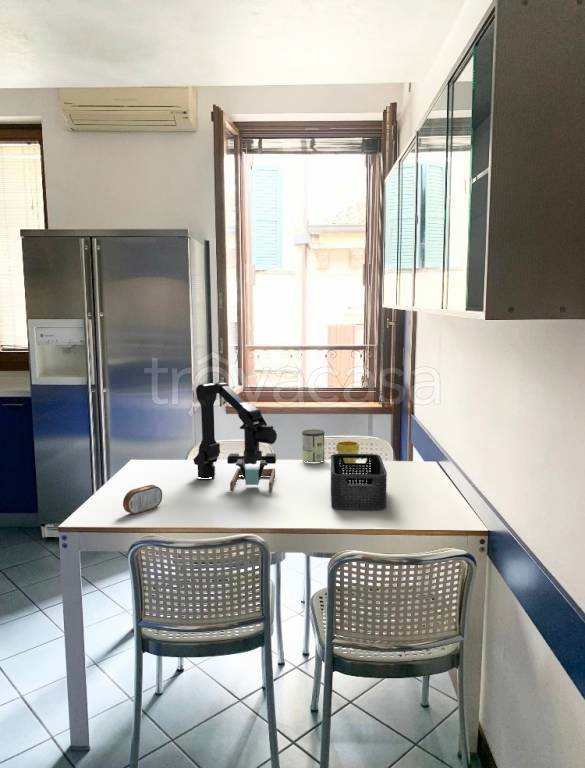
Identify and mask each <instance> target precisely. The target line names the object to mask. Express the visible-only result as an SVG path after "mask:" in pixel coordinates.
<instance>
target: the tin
mask: <svg viewBox="0 0 585 768" xmlns="http://www.w3.org/2000/svg"><path fill="white" fill-rule="evenodd" d="M162 500H163V490H162V488H160V487H159V486H157V485H155V484H148V485H145V486H144V485H143V486H140V487H136V488H133V489H131V490H128V492H127V493H126V494H125V496H124V497H123V500H122V501H123V502H122V506H123V510H124V511H125V512H127V513H129V514H132V515H137V514H141V513H143V512H149V511H151V510H154V509H156V508H157V507H158V506H160V505H161V503H162Z"/></svg>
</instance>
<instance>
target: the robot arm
mask: <svg viewBox="0 0 585 768" xmlns="http://www.w3.org/2000/svg"><path fill="white" fill-rule="evenodd" d="M195 394H196V400H197V401H198V404H199V405H200V410H201V412H200V413H201V414H200V415H201V437H202V439H201V441H200V444H199V446H198V454H197V455H196V456H195V457H194V459H193V463H194V465H195V466H197V477H201V478H209V477H214V478H215V477H216V466H215V465H214V464H215V463H217V462H218V459H219V457H220V454H221V448H220V447H221V444H220V443H219V442H217V441H216V439H215V422H214V421H215V419H214V403H215V402H216V400H217V397H218V395H220V397H221V398H223V399H224V401H226V402H227V403H228V404H229V405H230V406H231V407H232V408H233V409H234V410H235V412H237V416H238V418H239V419H240V421H241V422H242V425H241V426H239V429H240V430H243V432H244V434H243V435H244V439H243V440H244V442H243V443H244V450H243V455H240V453H229V454H228V455H227V461H226V462H227V464H228V465H229V464H230V465H231V464H235V466H236V467H237V466H238V467H239V468H240V469H241V471H242V473H243V476H244V477H243V478H244V480H245V469H246V467H247V466H246V465H250V464H252V465H256V464H258V463H257V462H260V463H259V481H260V480H261V478H262V477H261V474H262V470H263V469H265V466H268V465H269V464H272V465H273V464H274V465H275V464H276V463H277V454H276V453H269V452H268V453H267V452H266V454H265V455H263V453H262V452H263V451H262V450H260V443H261V444H268V445H273V444H275V443H276V440H277V437H278V434H277V431H276V430H275V429H274V426H273V425H268V424H267V422H266V420H265V419H264V417H263V415H262V412H261V410H260V409H259V408H257V407H256V406H254V405H252V404H250V403H247V402H246V401H245V400H244V399H243V398H242V397H241V396H240V395H239V394H237V393H236V392H235V391H234V390H233V389H232V388H231V387H230V386H229V384H228V383H227V382H218V383H215V384H214V383H212V382H210V383H209V382H208V383H204V384H199V385H198V386H196V388H195ZM217 394H218V395H217Z"/></svg>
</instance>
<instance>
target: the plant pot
mask: <svg viewBox="0 0 585 768" xmlns="http://www.w3.org/2000/svg"><path fill="white" fill-rule="evenodd" d="M335 445H336V452H337V454H359V453H358V452H359V451H360V443H359V442H357V441H355V440H353V441H351V440H343V441H338V442H336V444H335ZM340 459H341V458H340ZM343 459H344V462H345V463H357V458H343ZM340 461H341V460H340Z"/></svg>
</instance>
